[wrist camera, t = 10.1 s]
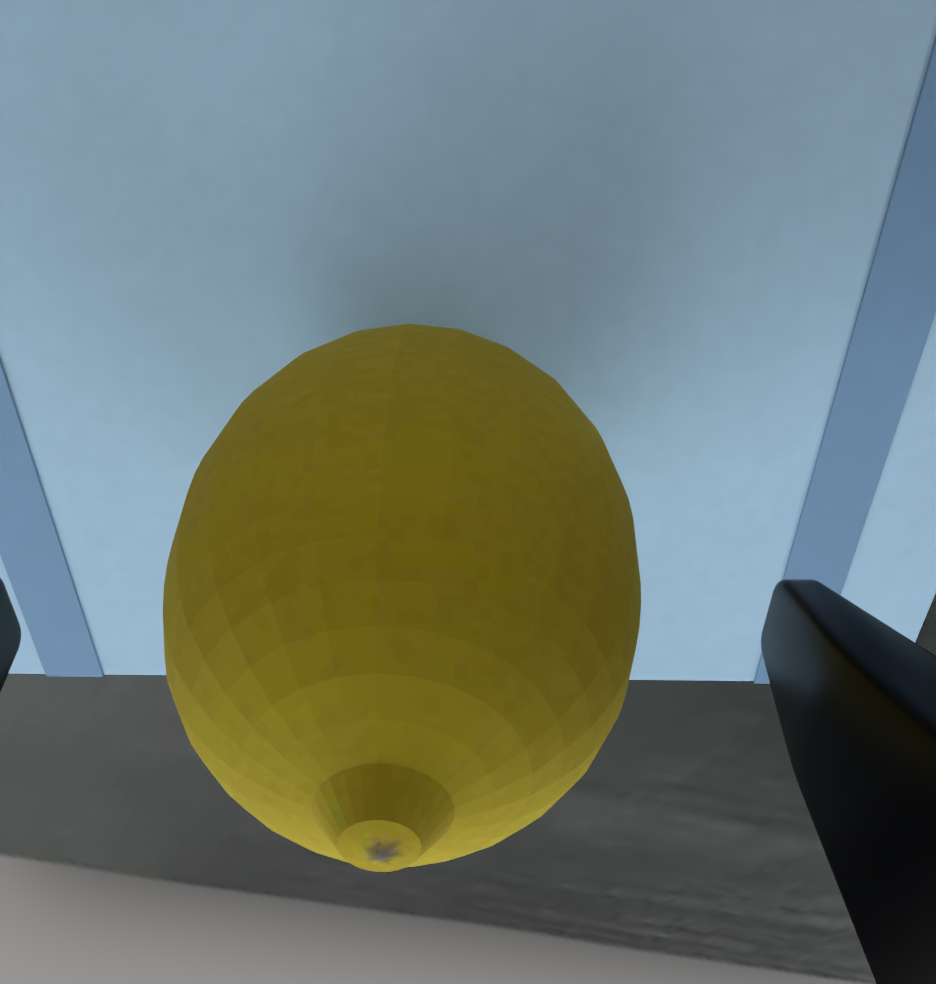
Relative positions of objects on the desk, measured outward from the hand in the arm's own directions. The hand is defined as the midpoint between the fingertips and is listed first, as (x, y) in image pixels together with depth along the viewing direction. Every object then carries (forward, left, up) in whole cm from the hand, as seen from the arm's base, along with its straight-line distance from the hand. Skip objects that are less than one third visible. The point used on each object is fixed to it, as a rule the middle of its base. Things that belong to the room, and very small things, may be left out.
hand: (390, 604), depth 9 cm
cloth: (0, -1, -5) cm, 5 cm away
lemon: (0, 0, -5) cm, 5 cm away
